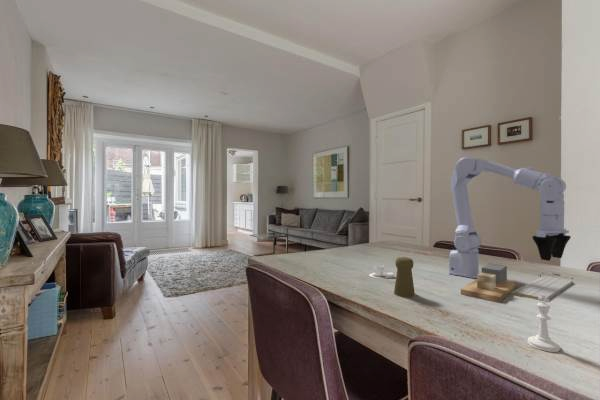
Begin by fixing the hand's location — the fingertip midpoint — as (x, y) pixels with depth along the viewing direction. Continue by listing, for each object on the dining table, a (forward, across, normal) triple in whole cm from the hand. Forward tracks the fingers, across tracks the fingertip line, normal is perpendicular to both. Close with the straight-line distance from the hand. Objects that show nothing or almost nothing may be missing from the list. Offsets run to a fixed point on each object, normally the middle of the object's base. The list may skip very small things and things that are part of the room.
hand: (551, 258), depth 92 cm
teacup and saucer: (+11, -36, +36) cm, 52 cm away
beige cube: (+9, -20, +8) cm, 23 cm away
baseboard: (+11, +1, +3) cm, 11 cm away
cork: (+10, -43, +20) cm, 48 cm away
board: (+10, -16, +10) cm, 21 cm away
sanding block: (+9, -11, +11) cm, 18 cm away
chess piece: (+10, -44, -15) cm, 47 cm away
